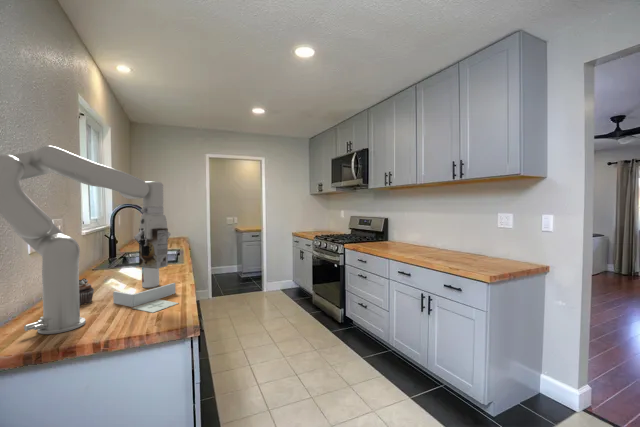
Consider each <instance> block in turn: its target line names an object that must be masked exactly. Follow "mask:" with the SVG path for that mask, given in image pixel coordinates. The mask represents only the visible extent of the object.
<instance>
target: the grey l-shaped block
mask: <svg viewBox="0 0 640 427" xmlns="http://www.w3.org/2000/svg"><path fill="white" fill-rule="evenodd" d="M175 293H176V282H173V283H168V284H166V285H165V284H164V285H162V286H156V287H153V288H149V289H148V290H144V291H140V292H137V293H128V292H123V291H117V290H114V291H112V296H113V302H112V303H113V304H116V305H121V306H125V307H130V308H134V307H137V306H140V305H143V304H146V303H149V302H152V301H156V300H159V299H160V300H161V299H163V298H166V297H169V296H173V295H175ZM172 294H173V295H172Z"/></svg>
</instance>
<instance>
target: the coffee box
mask: <svg viewBox="0 0 640 427" xmlns="http://www.w3.org/2000/svg"><path fill="white" fill-rule="evenodd" d="M139 232H140V227H138V233H139ZM168 232H169V228H168V227H167V228H158V229H152V239H151V240H149V242H148V245H147V246H148V247H149V255H148V256H142V249H141V246H140V244H139V243H138V268H141V269H142V268H154V269H158V268H159V269H161V268H165V267H168V263H169V261H168V255H169V254H168V253H169V251H168V249H169V248H168V246H169V245H168V243H169V238H168ZM143 236H144V234H143ZM144 238H145V236H144ZM141 240H142V239H141Z"/></svg>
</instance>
